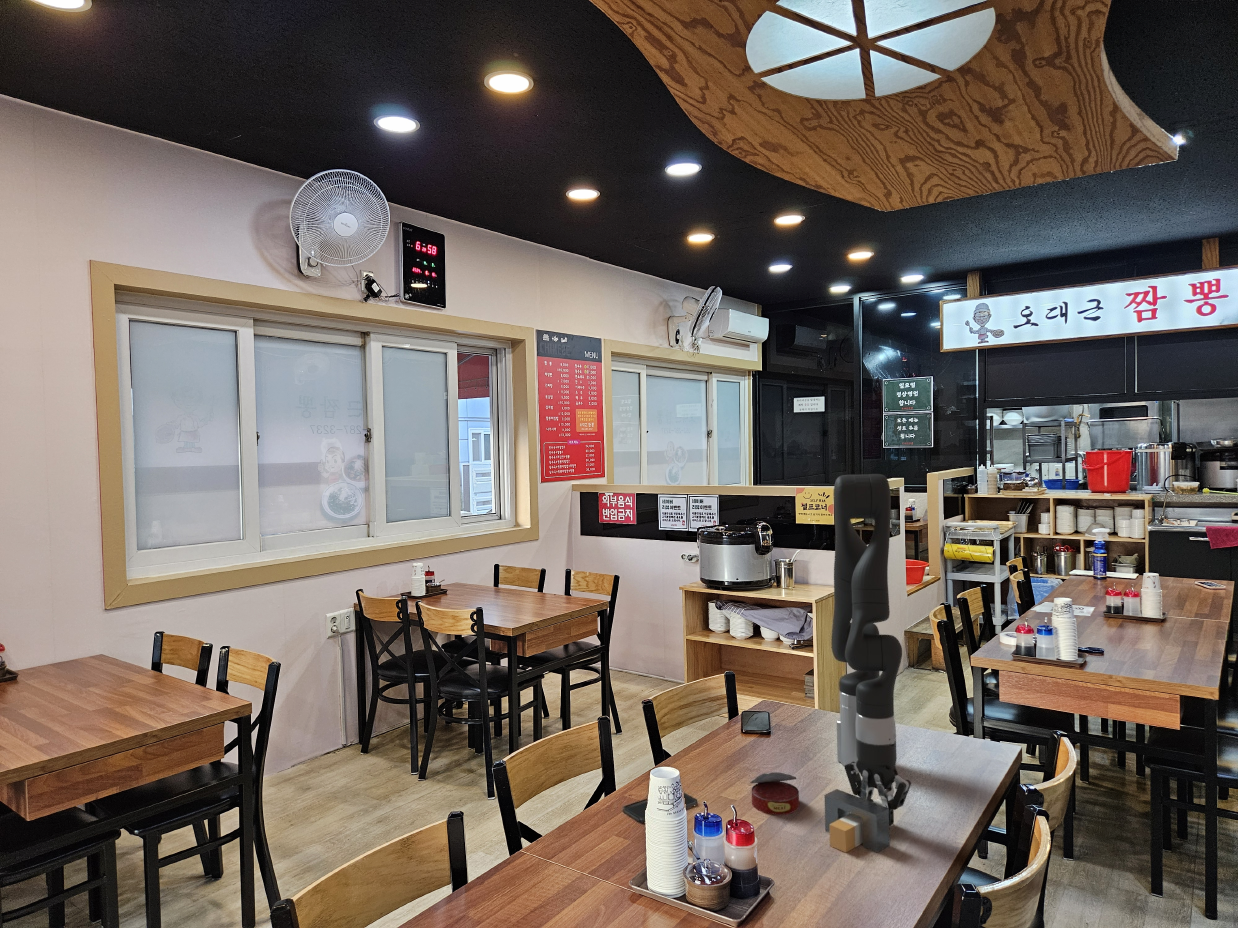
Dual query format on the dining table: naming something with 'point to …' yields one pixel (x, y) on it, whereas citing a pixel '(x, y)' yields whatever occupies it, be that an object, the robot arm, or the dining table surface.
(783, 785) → the canned food
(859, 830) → the bar
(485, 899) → the dining table surface
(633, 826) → the dining table surface
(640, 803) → the phone
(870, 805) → the u-shaped slotted block
